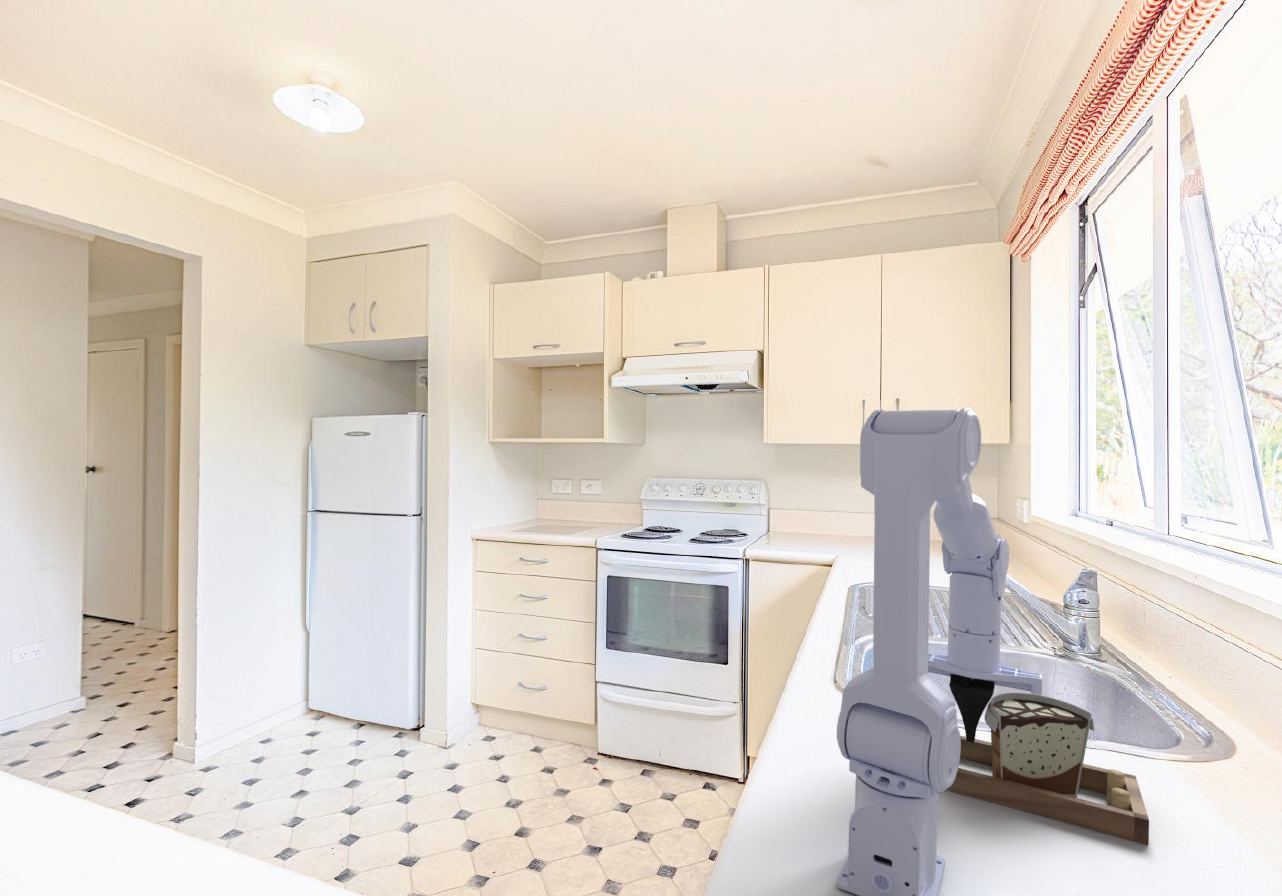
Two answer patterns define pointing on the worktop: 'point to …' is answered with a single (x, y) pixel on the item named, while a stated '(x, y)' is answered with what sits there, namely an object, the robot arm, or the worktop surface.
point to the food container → (1038, 741)
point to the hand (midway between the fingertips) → (970, 739)
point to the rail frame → (1061, 796)
